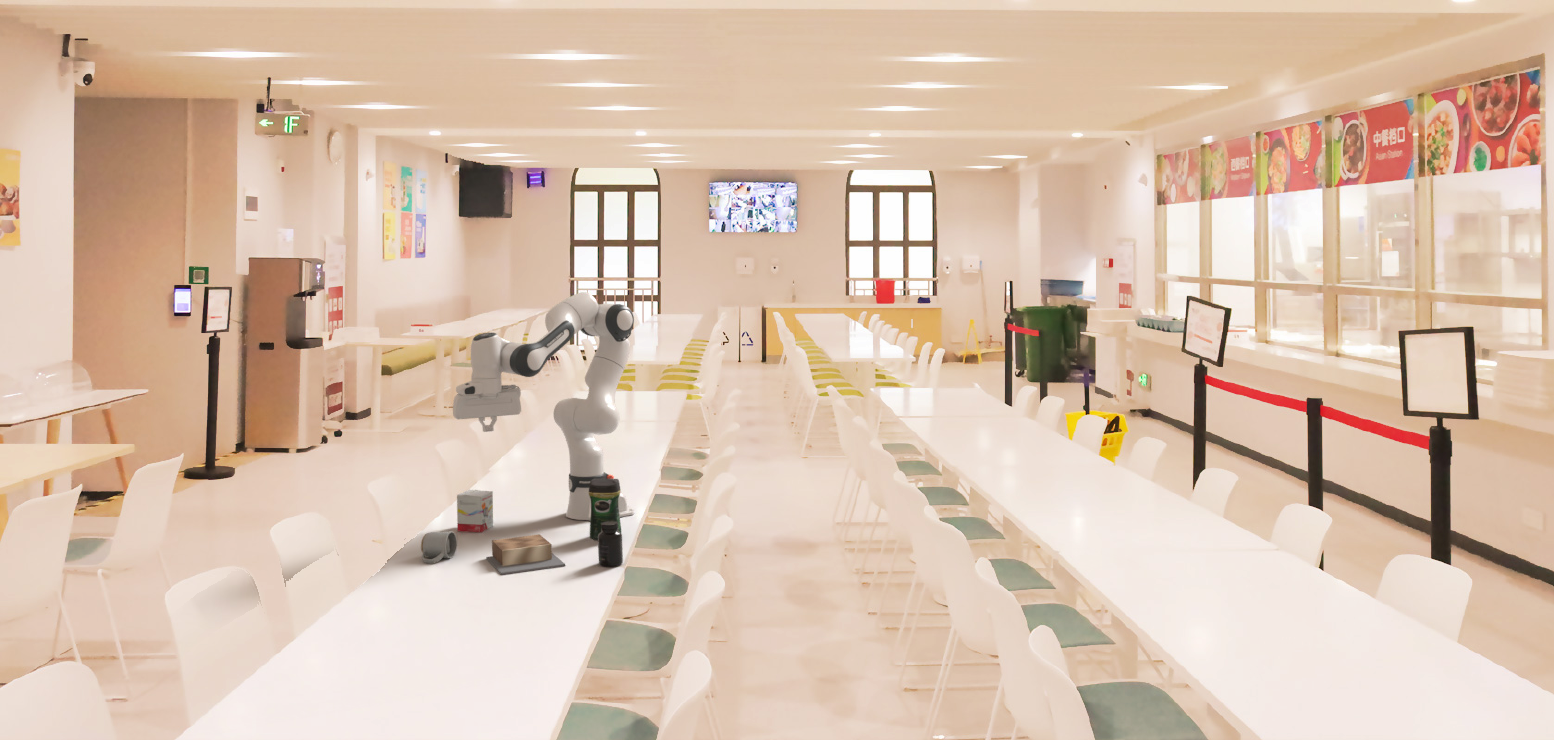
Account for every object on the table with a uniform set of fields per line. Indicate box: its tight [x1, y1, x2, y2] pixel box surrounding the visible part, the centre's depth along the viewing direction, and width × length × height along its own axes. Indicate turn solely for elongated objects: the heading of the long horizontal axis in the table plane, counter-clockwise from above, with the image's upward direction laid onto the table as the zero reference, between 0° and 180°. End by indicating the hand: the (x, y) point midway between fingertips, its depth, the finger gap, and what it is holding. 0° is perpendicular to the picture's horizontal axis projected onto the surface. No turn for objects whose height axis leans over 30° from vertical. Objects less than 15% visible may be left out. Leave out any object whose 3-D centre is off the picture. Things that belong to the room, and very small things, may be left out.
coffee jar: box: [589, 478, 622, 541], centre depth 334 cm, size 10×8×19 cm
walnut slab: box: [491, 534, 553, 566], centre depth 311 cm, size 14×4×12 cm
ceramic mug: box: [420, 530, 458, 565], centre depth 311 cm, size 11×8×8 cm
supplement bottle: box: [597, 521, 624, 568], centre depth 307 cm, size 7×7×12 cm
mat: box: [486, 552, 566, 576], centre depth 308 cm, size 18×17×1 cm
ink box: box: [456, 489, 494, 534], centre depth 344 cm, size 9×9×12 cm
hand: (488, 431), depth 332 cm, fingers closed
